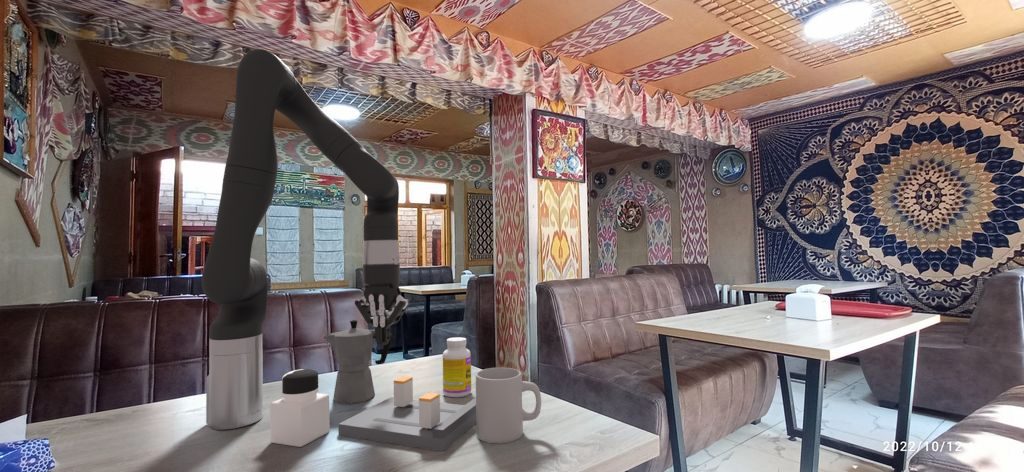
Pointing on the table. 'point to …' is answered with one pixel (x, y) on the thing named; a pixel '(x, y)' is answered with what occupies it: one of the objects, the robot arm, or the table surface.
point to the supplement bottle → (456, 368)
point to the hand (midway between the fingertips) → (383, 344)
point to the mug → (502, 404)
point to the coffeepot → (354, 363)
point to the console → (410, 424)
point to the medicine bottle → (299, 410)
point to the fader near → (429, 410)
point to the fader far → (403, 391)
